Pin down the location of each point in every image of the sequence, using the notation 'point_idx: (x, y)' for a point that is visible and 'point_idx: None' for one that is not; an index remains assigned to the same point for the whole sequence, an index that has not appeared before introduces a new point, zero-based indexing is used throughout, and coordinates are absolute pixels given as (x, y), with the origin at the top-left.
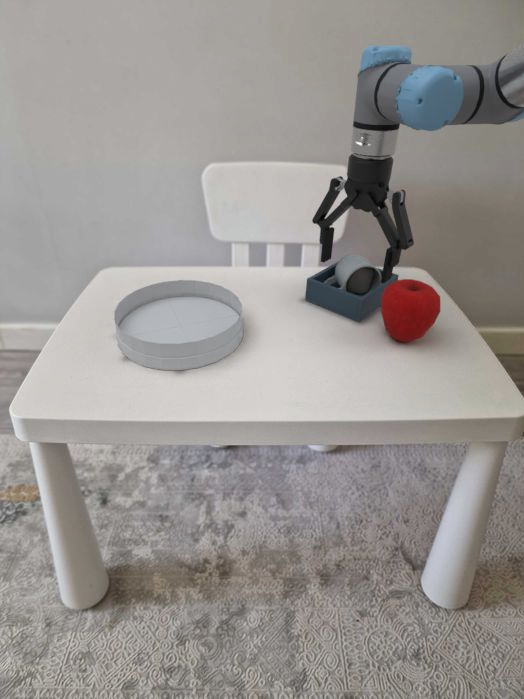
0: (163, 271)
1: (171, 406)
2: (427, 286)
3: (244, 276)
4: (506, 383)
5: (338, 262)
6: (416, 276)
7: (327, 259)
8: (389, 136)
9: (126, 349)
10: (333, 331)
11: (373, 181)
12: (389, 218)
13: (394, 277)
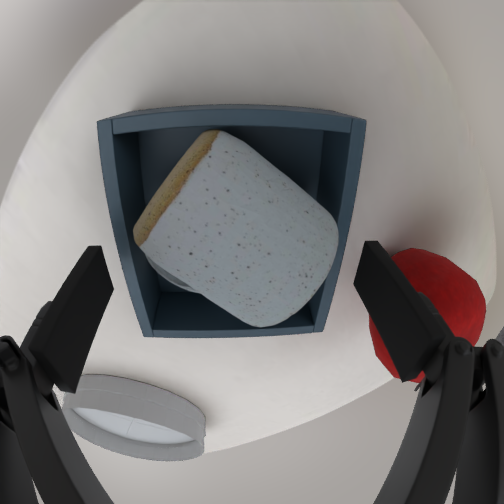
0: None
1: (227, 443)
2: (474, 331)
3: (15, 289)
4: (495, 272)
5: (140, 248)
6: None
7: (105, 270)
8: None
9: (147, 444)
10: (279, 336)
11: None
12: (440, 484)
13: (361, 152)
